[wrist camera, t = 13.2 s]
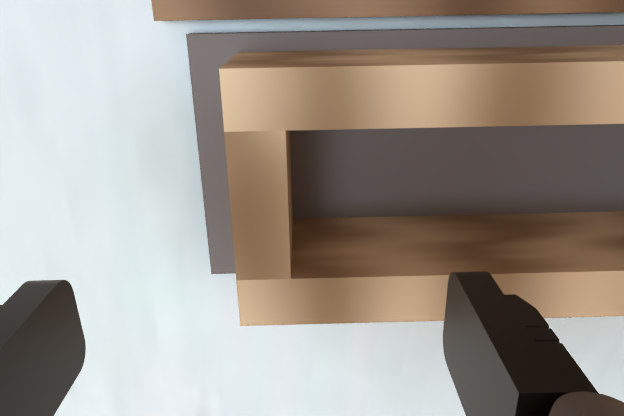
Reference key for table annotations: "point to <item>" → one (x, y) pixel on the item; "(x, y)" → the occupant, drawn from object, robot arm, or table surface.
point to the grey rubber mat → (413, 143)
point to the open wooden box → (411, 229)
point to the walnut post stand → (366, 8)
